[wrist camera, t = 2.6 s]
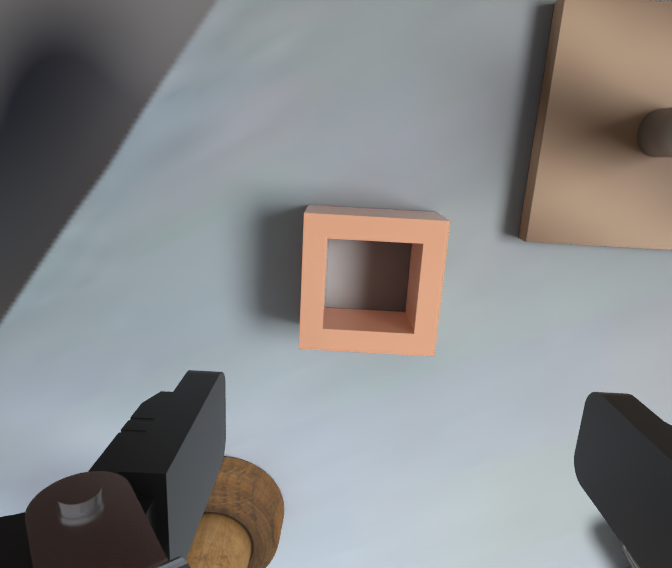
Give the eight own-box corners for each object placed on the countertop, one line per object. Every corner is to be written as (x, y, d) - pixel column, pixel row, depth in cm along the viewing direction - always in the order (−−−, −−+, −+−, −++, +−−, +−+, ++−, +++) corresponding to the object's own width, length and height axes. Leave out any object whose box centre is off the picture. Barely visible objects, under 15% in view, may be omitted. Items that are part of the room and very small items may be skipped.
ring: (308, 204, 23) (303, 212, 20) (436, 212, 23) (450, 221, 20) (303, 325, 24) (298, 348, 22) (423, 331, 24) (434, 356, 22)
